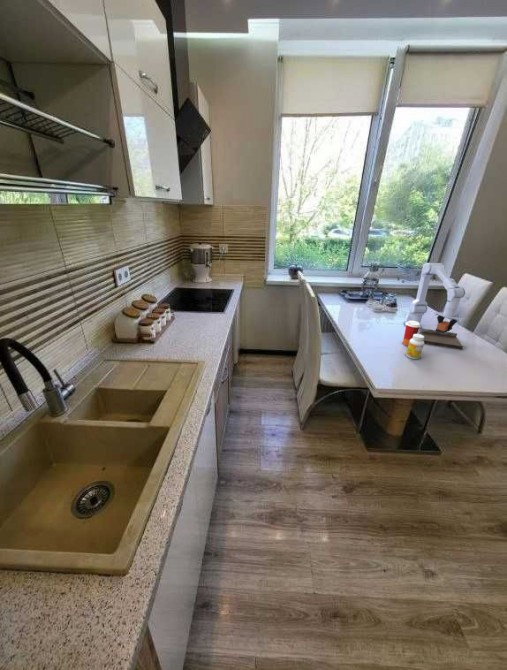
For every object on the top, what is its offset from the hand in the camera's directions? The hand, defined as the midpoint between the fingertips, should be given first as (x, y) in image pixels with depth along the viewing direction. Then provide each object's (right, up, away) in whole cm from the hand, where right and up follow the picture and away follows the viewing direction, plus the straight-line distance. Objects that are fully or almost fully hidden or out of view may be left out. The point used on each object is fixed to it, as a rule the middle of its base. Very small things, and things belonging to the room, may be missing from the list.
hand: (444, 329), depth 167 cm
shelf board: (0, -7, +5) cm, 9 cm away
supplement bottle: (-27, -15, -14) cm, 34 cm away
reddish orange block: (0, 0, 0) cm, 0 cm away
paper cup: (-22, -9, 0) cm, 24 cm away
